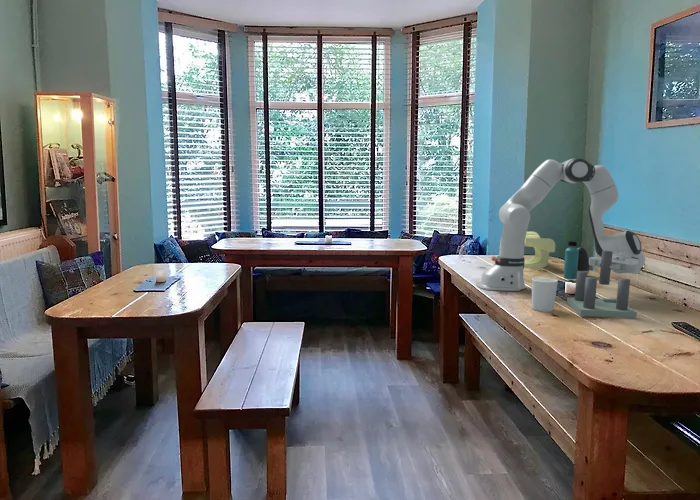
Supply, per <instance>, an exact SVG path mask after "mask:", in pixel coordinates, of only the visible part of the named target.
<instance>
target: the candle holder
mask: <svg viewBox="0 0 700 500" xmlns="http://www.w3.org/2000/svg"><path fill="white" fill-rule="evenodd" d="M558 281H559V280H558V279H556V278H553V277H545V276H544V277H543V276H535V277H532V278H531V309H532V310H533V311H537V312H541V313H542V312H543V313H546V312H547V313H550V312H553V311H554V310H555V309H554V308H555V303H556V297H557V288H558Z"/></svg>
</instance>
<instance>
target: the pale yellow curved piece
mask: <svg viewBox="0 0 700 500" xmlns="http://www.w3.org/2000/svg"><path fill="white" fill-rule="evenodd" d="M524 247H531V248H533V249H534V253H535V254H534V257H533V258H529V259H525V261H524V269H527V268H528V269H529V268H530V269H532V268H534V269H536V268H537V269H543V268H546V267H547V266H548V264H549V259H550V253H556V242H555V241H554V239H552V238H550V237H549V238H546V237H545V238H544V237H541V236H540V235H539V233H538V232H537V231H527V234H526V238H525V246H524Z"/></svg>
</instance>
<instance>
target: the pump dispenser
mask: <svg viewBox="0 0 700 500" xmlns="http://www.w3.org/2000/svg"><path fill="white" fill-rule="evenodd" d="M576 248H577V249H578V250H579V254H578V270H577V272H578V271H583V272H587V273H588V274H589V272H590V271H591V266H590V265H589V258H590V255H589V252H588V251H587V249H586V248H585V247H582V246H579V247H576Z"/></svg>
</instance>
